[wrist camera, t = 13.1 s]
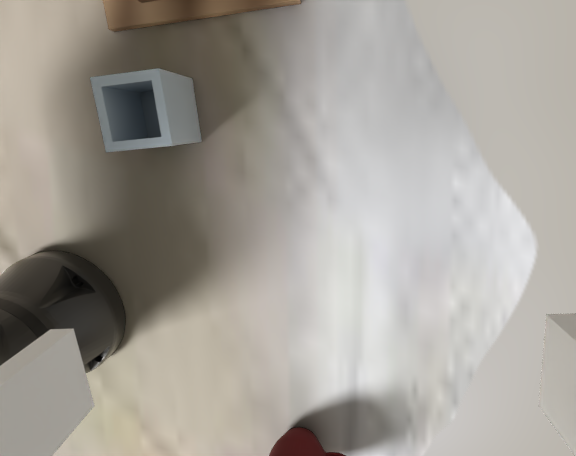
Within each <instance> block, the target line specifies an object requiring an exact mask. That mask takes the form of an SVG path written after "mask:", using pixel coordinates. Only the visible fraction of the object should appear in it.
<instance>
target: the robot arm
mask: <svg viewBox="0 0 576 456" xmlns="http://www.w3.org/2000/svg"><path fill="white" fill-rule="evenodd" d="M124 330H125V313H124V308H123V304H122V301H121V299H120V296H119V294H118V292H117V290H116V289H115V287H114V286H113V284H112V283H111V281H110V280H109V279H108V278H107V277H106V275H105V274H104V273H103V272H102V271H100V270H99V269H98V268H97V267H96V266H94V265H93V264H92V263H90V262H88V261H87V260H85V259H83V258H81V257H79V256H76V255H74V254H70V253H67V252H61V251H45V252H40V253H37V254H34V255H31V256H29V257H27V258H25V259H22V260H20V261H18V262H16V263H14V264H13V265H11V266H10V267H9V268H7V269H6V270H5V271H4V272H3V273H2V274H1V275H0V456H52V455H53V454H54V453H55V452H56V451H57V449H58V448H59V447H60V446H61V445H62V444H63V442H64V441H65V440H66V439H67V438H68V436H69V435H70V434H71V433H72V432H73V431H74V429H75V428H76V427H77V426H78V425H79V423H80V422H81V421H82V420H83V419H84V418H85V416H86V415H87V414H88V413H89V412H90V411H91V409H92V408H93V407H94V402H93V398H92V395H91V391H90V387H89V384H88V380H87V376H86V373H88V372H90V371H92V370H94V369H95V368H97V367H98V366H100V365H101V364H102V363H103V362H104V361H105V360H106V359H107V358H108V357H109V356H110V355H111V354H112V353H113V352H114V351H115V350H116V349H117V347H118V346H119V344H120V342H121V340H122V338H123V334H124ZM539 408H540V409H541V410H542V412H543V413H544V414H545V416H546V417H547V418H548V420H549V421H550V423H551V424H552V425H553V427H554V428H555V430H556V431H557V432H558V434H559V435H560V437H561V438H562V439H563V441H564V442H565V443H566V445H567V446H568V448H569V449H570V450H571V452H572V453H573V455H574V456H576V313H575V314H546V324H545V336H544V348H543V360H542V372H541V385H540V397H539Z"/></svg>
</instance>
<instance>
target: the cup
mask: <svg viewBox="0 0 576 456" xmlns="http://www.w3.org/2000/svg"><path fill="white" fill-rule="evenodd" d="M90 80H91V85H92V89H93V94H94V98H95V103H96V108H97V112H98V117H99V122H100V126H101V131H102V136H103V140H104V145H105V150H106V152H115V151H125V150H135V149H145V148H156V147H166V146H175V145H183V144H190V143H198V142H202V139H201V132H200V126H199V119H198V113H197V106H196V99H195V93H194V86H193V79H192V78H189V77H186V76H183V75H179V74H176V73H173V72H170V71H166V70H163V69H160V68H157V69H150V70H142V71H135V72H127V73H119V74H112V75H104V76H97V77H90Z"/></svg>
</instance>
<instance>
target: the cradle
mask: <svg viewBox="0 0 576 456" xmlns="http://www.w3.org/2000/svg"><path fill="white" fill-rule="evenodd" d="M103 3H104V8H105V13H106V18H107V23H108V28H109V30H112V31H114V32H116V31H123V30H129V29H136V28H143V27H149V26H156V25H163V24H169V23H176V22H183V21H189V20H196V19H203V18H209V17H216V16H223V15H229V14H236V13H242V12H249V11H256V10H262V9H269V8H276V7H282V6H289V5H296V4H301V0H103Z"/></svg>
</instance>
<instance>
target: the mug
mask: <svg viewBox="0 0 576 456" xmlns="http://www.w3.org/2000/svg"><path fill="white" fill-rule="evenodd" d="M269 456H346V455H343V454H341V453H334V452H327V453H326V452H325V451H324V449H323V448H322V446H321V444H320V443H319V441H318V439H317V438H316V436H315V435H314V434H313V433H312V432H311V431H310V430H308V429H305V428H301V427H297V428H292V429H290V430H289V431H288V432H286V433H285V434H284V435H283V436H282V437H281V438H280V439H279V440H278V441H277V442H276V444H275V445H274V447H273V448H272V450H271V452H270V455H269Z"/></svg>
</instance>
